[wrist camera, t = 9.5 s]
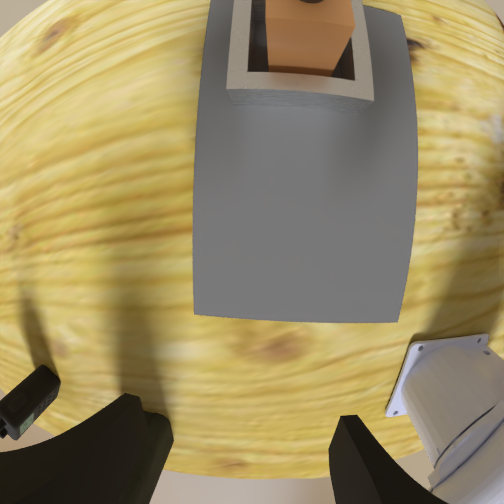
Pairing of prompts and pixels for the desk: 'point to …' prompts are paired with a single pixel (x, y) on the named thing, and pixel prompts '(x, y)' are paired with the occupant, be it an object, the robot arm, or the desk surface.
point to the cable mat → (304, 191)
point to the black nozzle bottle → (149, 462)
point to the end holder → (298, 85)
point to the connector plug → (307, 35)
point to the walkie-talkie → (27, 402)
